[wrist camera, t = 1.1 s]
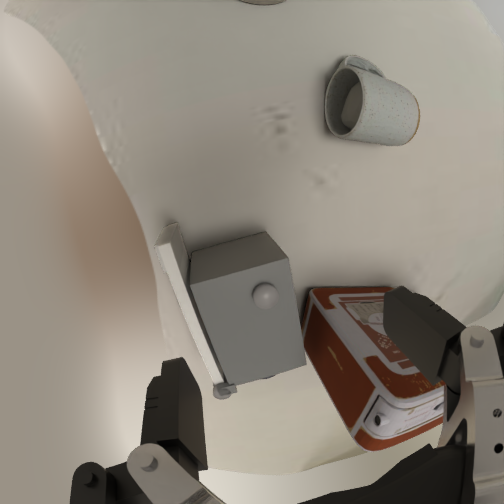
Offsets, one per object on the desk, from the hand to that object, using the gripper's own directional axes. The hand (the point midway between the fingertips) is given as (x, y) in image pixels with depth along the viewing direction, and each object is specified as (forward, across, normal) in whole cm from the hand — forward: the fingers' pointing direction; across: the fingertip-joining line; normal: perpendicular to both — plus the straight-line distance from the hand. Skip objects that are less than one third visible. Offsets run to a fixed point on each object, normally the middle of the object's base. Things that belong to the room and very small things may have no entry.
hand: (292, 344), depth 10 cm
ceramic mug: (+20, -16, -10) cm, 28 cm away
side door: (+20, +6, +7) cm, 22 cm away
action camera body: (+20, +2, +9) cm, 22 cm away
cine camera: (+20, -14, +16) cm, 29 cm away
